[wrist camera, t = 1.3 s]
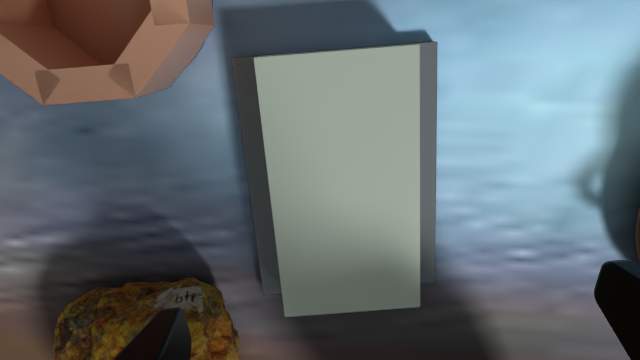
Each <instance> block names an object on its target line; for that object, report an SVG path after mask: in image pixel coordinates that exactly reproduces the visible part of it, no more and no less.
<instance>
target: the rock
mask: <svg viewBox="0 0 640 360" xmlns="http://www.w3.org/2000/svg"><path fill="white" fill-rule="evenodd" d="M174 307H181V308H183V310H184V312H185V315H186V319H187V323H188V326H189V330H190V334H191V341H192V347H191V357H190V360H240V359H239V354H238V346H239V337H238V332H237V331H236V330H235V329H234V328H233V327H232V321H231V318H230V315H229V313H228V312H227V311H226V310H225V304H224V299H223V296H222V293H221V291H219V290H218V289H217V288H215V287H213V286H211V285H209V284H206V283H203V282H200V281H198V280H197V279H195V278H194V277H187V278H185V279H182V280H180V281H176V282H167V281H164V282H153V283H151V282H128V283H127V284H126V285H124V286H123V287H120V288H107V287H97V288H95V289H93V290H91V291H89V292H88V293H86V294H84V295H82V296H81V297H79V298H77V299H76V300H74V301H73V302H71V303H69V304H68V305H67V306H66V307H65V308H64V309H63V311H62V312H61V314H60V316H59V317H58V321H57V325H56V328H55V332H54V334H55V341H54V343H53V348H52V350H53V356H54V360H113V359H114V358H115V357H116V356H117V355H118V354H119V353H120V352H121V351H122V350H123V349H124V348H125V347H126V346H127V345H128V344H129V342H130V341H131V340H132V339H133V338H134V337H135V336H136V335H137V334H138V333H139V332H140V331H141V330H142V329H143V328H144V327H145V326H146V325H147V324H148V323H149V322H150V321H151V319H152V318H153V317H154V316H155V315H156V314H157V313H158V312H159V311H160V310H162V309H165V308H174Z"/></svg>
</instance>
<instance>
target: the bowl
mask: <svg viewBox="0 0 640 360" xmlns="http://www.w3.org/2000/svg"><path fill="white" fill-rule="evenodd" d="M214 27H215V24H214V17H213V0H0V74H1V75H2V76H4V77H5V78H6V79H8V80H9V81H11V82H12V83H13V84H15V85H16V86H17V87H19V88H20V89H22V90H23V91H24V92H26V93H27V94H29V95H30V96H31V97H33V98H34V99H35V100H37V101H38V102H40V103H41V104H42V105H54V104H67V103H80V102H92V101H105V100H118V99H130V98H138V97H141V96H144V95H147V94H150V93H153V92H156V91H159V90H162V89H165V88H168V87H171V85H172V84H173V82H174V81H175V80H176V78H177V77H178V76H179V74H180V73H181V72H182V70H184V69H185V68H186V67H187V66H188V65H189V64H190V63H191V62H192V60H193V59H194V58H195V57H196V56H197V54H198V52H199V51H200V49H201V48H202V46H203V44H204V41H205V39H206V38H207V36H208V35H209V34H210V32H211V31H212V30H213V28H214Z"/></svg>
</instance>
